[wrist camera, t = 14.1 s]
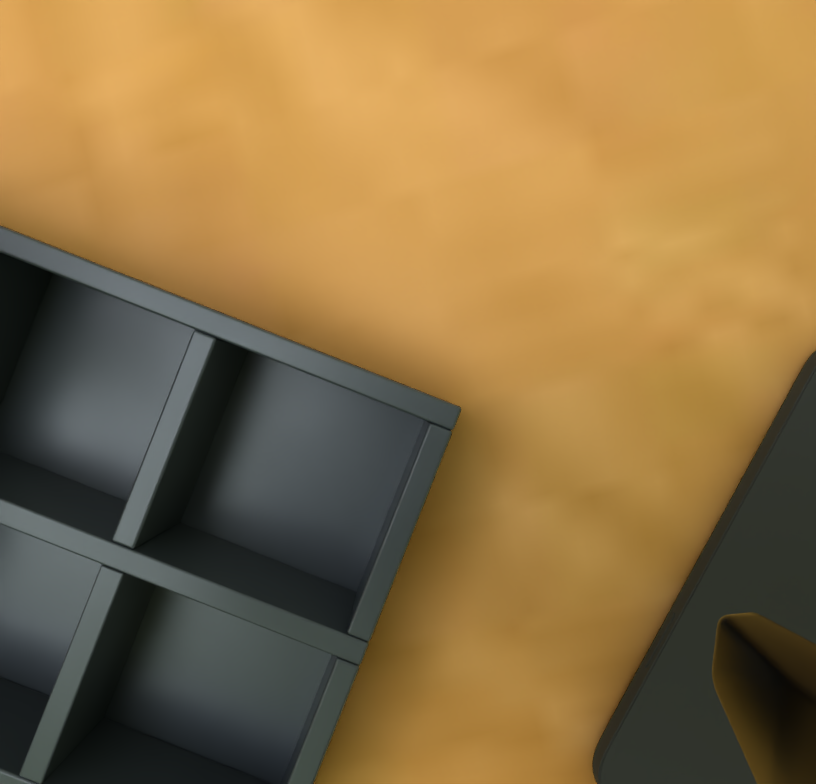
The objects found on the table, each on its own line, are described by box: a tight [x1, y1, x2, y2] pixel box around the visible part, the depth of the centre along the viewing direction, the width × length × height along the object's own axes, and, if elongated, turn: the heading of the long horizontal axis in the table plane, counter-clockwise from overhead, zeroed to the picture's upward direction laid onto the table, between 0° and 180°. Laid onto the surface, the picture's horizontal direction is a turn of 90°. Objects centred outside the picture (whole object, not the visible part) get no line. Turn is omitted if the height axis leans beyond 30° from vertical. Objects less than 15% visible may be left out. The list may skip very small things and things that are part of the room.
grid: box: [0, 225, 461, 784], centre depth 19 cm, size 13×19×4 cm
